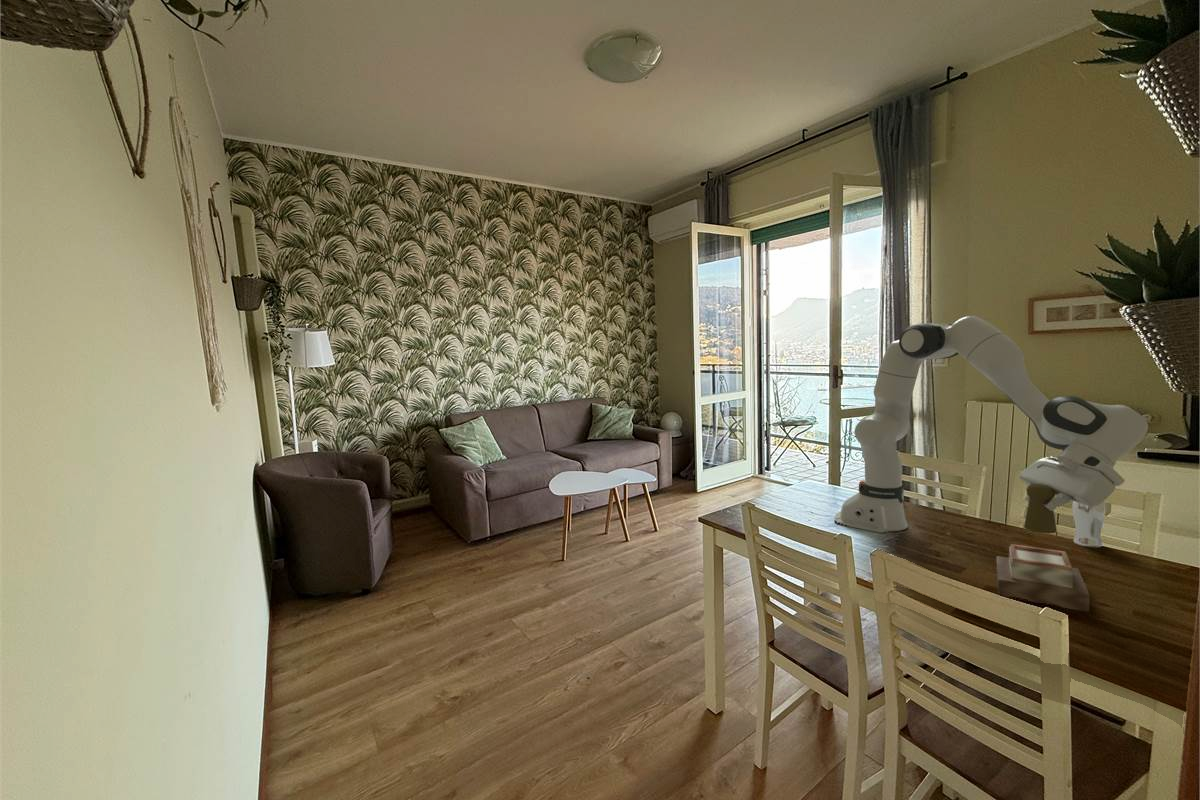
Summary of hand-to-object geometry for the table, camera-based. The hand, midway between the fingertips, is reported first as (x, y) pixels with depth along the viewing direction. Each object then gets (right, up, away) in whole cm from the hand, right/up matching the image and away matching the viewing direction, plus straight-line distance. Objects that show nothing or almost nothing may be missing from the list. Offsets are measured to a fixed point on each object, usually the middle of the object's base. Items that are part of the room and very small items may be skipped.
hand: (1037, 505), depth 122 cm
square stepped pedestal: (+2, -21, +2) cm, 21 cm away
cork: (+1, -6, 0) cm, 6 cm away
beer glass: (+38, -17, +26) cm, 49 cm away
